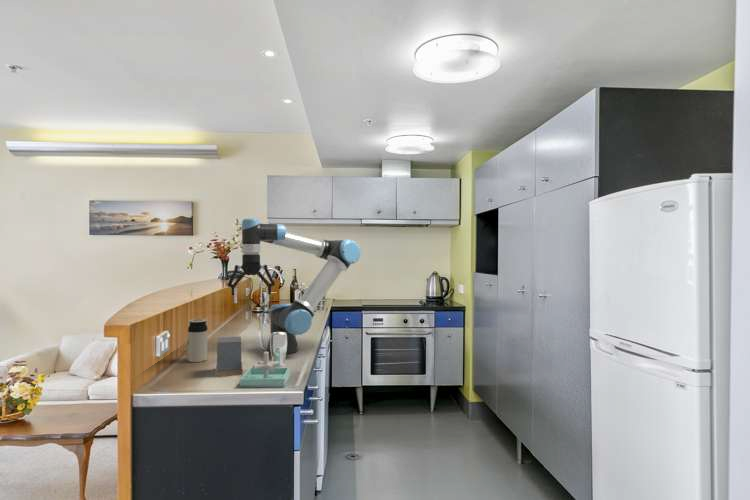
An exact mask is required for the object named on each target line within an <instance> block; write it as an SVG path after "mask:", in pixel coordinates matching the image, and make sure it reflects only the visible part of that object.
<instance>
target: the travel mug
mask: <svg viewBox="0 0 750 500" xmlns="http://www.w3.org/2000/svg"><path fill="white" fill-rule="evenodd" d="M188 322H189V325H188V327H187V362H189V363H202V362H205V361H207V360H208V326H207V322H208V319H206V318H192V319H189V320H188Z"/></svg>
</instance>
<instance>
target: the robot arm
mask: <svg viewBox="0 0 750 500" xmlns="http://www.w3.org/2000/svg"><path fill="white" fill-rule="evenodd" d="M241 239H242V241H241V250H242V251H241V252H242V256H241V260H242V261H241V262H242V264H241V265H238V264H236V265H234V271H233V272H232V274H231V276H230V277H229V280H228V283H227V284H226V286H227V287H229V288H231V296H233V302H234V303H233V304H237V303H238V287H236V286H237V285H238V284H239V283H240V282H241V281H242V279H243V278H244V277H245V276H246V275H247V276H256V275H257V276H258V277H259V278H260V280H261V281H262V282H263V283H264V284H265V285H266V288H265V294H266V295H265V301H266V303H269V302H270V301H269V300H270V298H269V297H270V295H271V294H272V287H274V286H276V282H275V280H274V278H273V277H272V274H271V272H270V270H269V266H268V264H264V265H261V255H260V253H261V242H264V243H268V244H272V245H275V246H276V245H277V246H279V247H284V248H288V249H292V250H296V251H300V252H304V253H307V254H311V255H315V257H316V258H319V259H323V260H326V263H325V264H324V266H323V267H322V268H321V269H320V271H319V272H318V274H316V276H315V277H314V279H313V280H312V282H311V283H310V285H308V287H307V288H306V290H305V291H304V293H302V295H301V296H300V298H299V299H296V300H295V299H294V301H292V303H280V304H272V305H271V306H270V311H269V312H270V313H269V314H270V327H269V329H270V333H269V334H270V335H271V333H273V332H286V333H287V351H286V355H288V354H294V353H297V352H299V345H298V342H297V338H296V336H297V335H298V336H300V335H304V334H306V333H307V332H308V331H309V330H310V328H311V327H312V325H313V317H314V316H315V309H316V308H317V307H318V305H319V304H320V302H321V301H322V300H323V298H324V297H325V296H326V294H327V292H328V291H329V290H330V288H331V287H332V286H333V284H334V283H335V281H336V280H337V279H338V277H339V276H340V274H341V273H342V272H346V271H348V269H349V268H350V266H351V265H353V264H355V263H357V262H359V259H360V258H361V247H360V245H359V244H358V243H357V242H356V241H354V240H352V239H342V240H339V239H337V240H327V239H322V238H320V239H315V238H311V237H308V236H304V235H301V234H296V233H293V232H290V231H287V229H286V226H285V225H284V224H280V223H261V221H260V219H258V218H244V219H243V220H242V221H241ZM261 269H262V270H263V271H264V272H265V274H266V276H267V278H268V279H267V278H266V277H265V276H264V275H263V274H262V273H261V271H260V270H261ZM240 270H242V271H243V272H242V273H241V274H240V275H239V276H238V277H237V278H236V276H237V274H238V272H239V271H240ZM235 278H236V280H235ZM269 281H270V282H269ZM266 352H269V354H271V351H270V338H269V339H268V342H267V344H266Z"/></svg>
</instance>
